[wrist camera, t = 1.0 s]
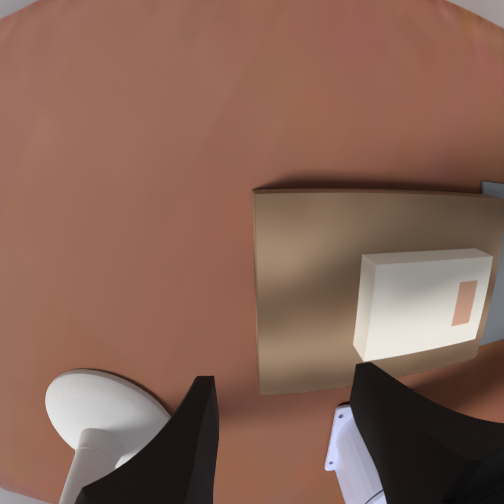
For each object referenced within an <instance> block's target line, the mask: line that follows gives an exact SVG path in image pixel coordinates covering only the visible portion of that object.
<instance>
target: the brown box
mask: <svg viewBox="0 0 504 504" xmlns="http://www.w3.org/2000/svg"><path fill="white" fill-rule="evenodd" d="M252 207H253V241H254V276H255V311H256V347H257V373H258V381H259V389H260V396H266V395H279V394H290V393H300V392H310V391H318V390H326V389H333V388H341V387H347V386H352V385H353V379H354V373H355V367H356V364H359V363H366V362H372V363H373V364H375V365H376V366H378V367H379V368H381V369H382V370H383V371H385V372H386V373H388V374H389V375H391V376H392V377H393V378H398V377H402V376H407V375H412V374H416V373H420V372H425V371H429V370H433V369H437V368H441V367H445V366H448V365H452V364H456V363H459V362H463V361H466V360H470V359H473V358H476V355H477V352H478V348H479V345H480V342H481V339H482V335H483V332H484V328H485V324H486V320H487V317H488V313H489V308H490V304H491V300H492V295H493V291H494V286H495V281H496V276H497V270H498V264H499V258H500V252H501V245H502V237H503V228H504V199H502V198H498V197H493V196H489V195H484V194H476V193H462V192H446V191H426V190H402V189H361V188H296V189H253V190H252ZM470 248H476V249H478V250H480V251H483V252H485V253H487V254H489V255H491V256H493V260H492V267H491V272H490V278H489V283H488V288H487V293H486V298H485V302H484V307H483V311H482V315H481V319H480V323H479V327H478V330H477V334H476V338H475V339H473V340H469V341H465V342H461V343H457V344H453V345H449V346H444V347H440V348H435V349H431V350H426V351H421V352H416V353H411V354H406V355H401V356H395V357H390V358H384V359H378V360H372V361H365V362H363V360H362V358H361V357H360V355H359V354H358V352H357V350H356V349H355V347H354V346H353V341H354V334H355V325H356V317H357V307H358V297H359V286H360V274H361V260H362V254H378V253H397V252H416V251H434V250H452V249H470Z"/></svg>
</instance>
